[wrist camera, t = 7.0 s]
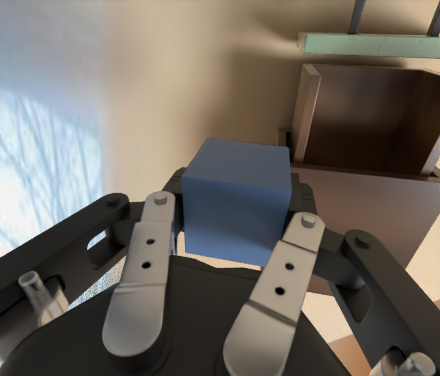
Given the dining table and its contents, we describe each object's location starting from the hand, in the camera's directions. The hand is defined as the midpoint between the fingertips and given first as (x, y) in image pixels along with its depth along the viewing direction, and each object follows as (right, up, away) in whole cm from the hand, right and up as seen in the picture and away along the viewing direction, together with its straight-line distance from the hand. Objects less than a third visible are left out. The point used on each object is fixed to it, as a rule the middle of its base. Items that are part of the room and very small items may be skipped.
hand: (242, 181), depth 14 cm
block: (0, 0, 0) cm, 0 cm away
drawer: (+12, +9, +11) cm, 19 cm away
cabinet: (+12, -1, +19) cm, 22 cm away
